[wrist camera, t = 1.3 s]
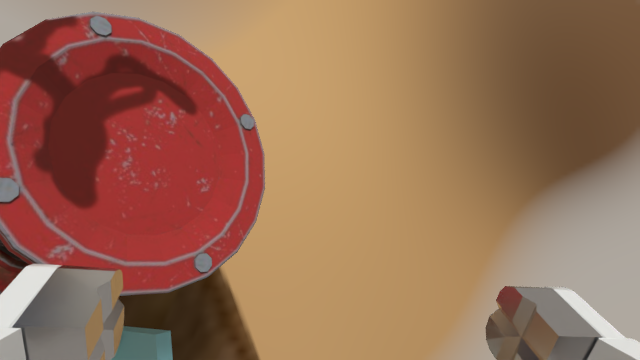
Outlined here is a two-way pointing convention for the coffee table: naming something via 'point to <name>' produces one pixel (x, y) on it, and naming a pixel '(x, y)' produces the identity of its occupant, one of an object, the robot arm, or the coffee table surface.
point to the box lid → (144, 344)
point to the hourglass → (122, 154)
